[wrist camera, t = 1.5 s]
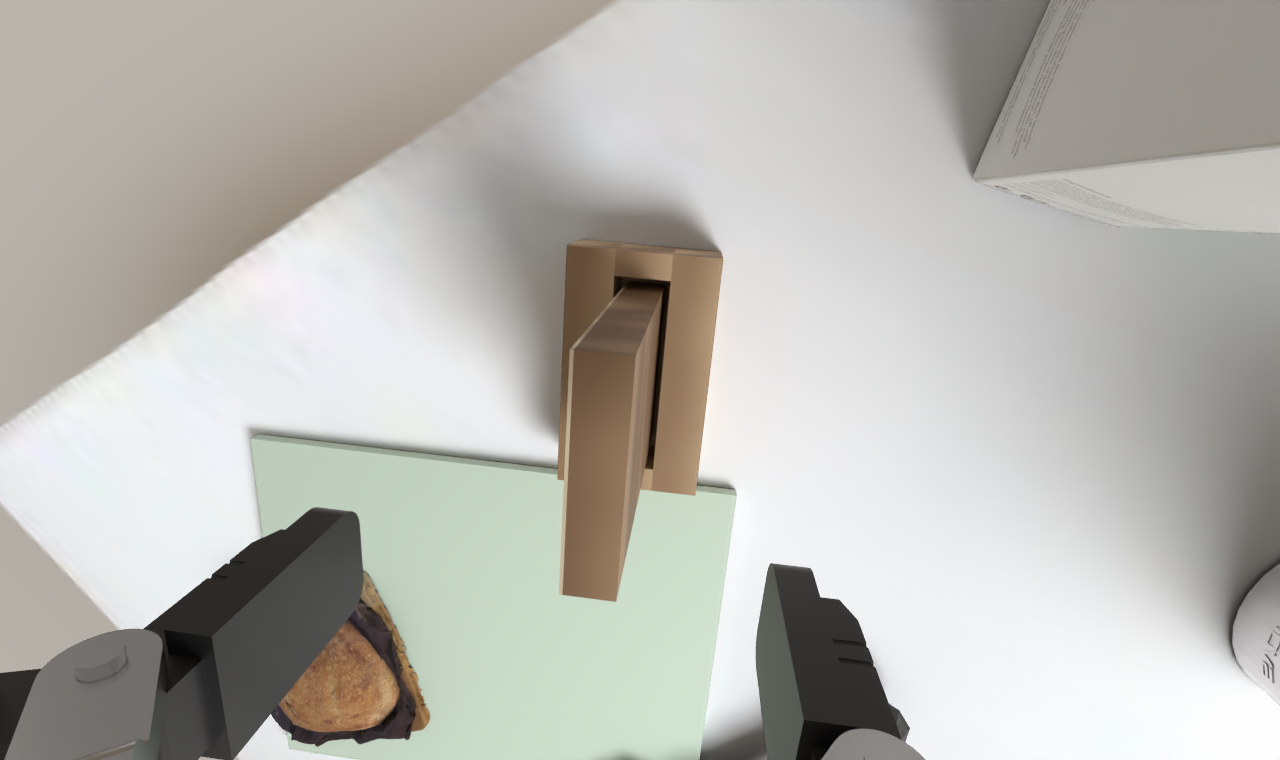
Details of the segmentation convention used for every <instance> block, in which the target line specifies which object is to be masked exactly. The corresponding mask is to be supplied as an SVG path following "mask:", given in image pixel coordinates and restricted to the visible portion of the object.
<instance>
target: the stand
mask: <svg viewBox="0 0 1280 760" xmlns="http://www.w3.org/2000/svg"><path fill="white" fill-rule="evenodd" d="M722 266H723V257H722V253H721V252H717V251H705V250H694V249H683V248H672V247H660V246H649V245H638V244H627V243H615V242H604V241H593V240H579V241H577V242H574V243H572V244H569V245H567V256H566V280H565V304H564V329H563V353H562V378H561V402H560V426H559V451H558V475H557V480H564V467H565V445H566V423H567V400H568V378H569V355H570V349H571V347H572V346H573V345H574V344H575V343H576V341H577V340H578V339H579V338H580V337H581V336H582V334H583V333H584V332H585V331H586V330H587V329H588V327H589V326H590V325H591V324H592V323H593V322H594V320H595V319H596V318H597V317H598V316H599V315H600V313H601V312H602V311H603V310H604V309H605V307H606V306H607V305H608V304H609V303H610V302H611V300H612V299H613V298H614V297H615V296H616V295H617V293H618V292H619V291H620V290H621V289H622V288H623V286H624V285H625V284H626V283H627V282H628V281H638V282H649V283H660V284H666V285H665V296H664V308H663V319H662V330H661V341H660V352H659V363H658V374H657V385H656V396H655V407H654V418H653V429H652V437H651V442H650V447H649V451H648V456H647V461H646V465H645V470H644V475H643V479H642V484H641V490H649V491H658V492H666V493H675V494H683V495H692V496H695V495H696V486H697V478H698V469H699V461H700V452H701V444H702V435H703V427H704V419H705V410H706V402H707V393H708V385H709V376H710V368H711V359H712V351H713V342H714V334H715V325H716V317H717V308H718V300H719V291H720V283H721V274H722Z"/></svg>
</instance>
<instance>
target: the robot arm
mask: <svg viewBox="0 0 1280 760" xmlns="http://www.w3.org/2000/svg"><path fill="white" fill-rule="evenodd" d="M363 581H364V578H363V563H362V549H361V534H360V522H359V518H358V516H357V514H356V513H355V512H352V511H345V510H337V509H328V508H320V507H314V508H311V509H310V510H308V511H307V512H306V513H305V514H304V515H302V516H301V517H300V518H299V519H298V520H296V521H295V522H294V523H293V524H292V525H290V526H289V527H288V528H287V529H285V530H283V529H280V530H278V531H276V532H274V533H272V534H270V535H268V536H266V537H263V538H261V539H259V540H257V541H255V542H253V543H251V544H250V545H249V546H247V547H246V548H245V549H244V550H242V551H241V552H240V553H239V554H237V555H236V556H235V557H234V558H232V559H231V560H230V563H229V564H225V565H223V566H222V567H221V568H220V569H218V570H217V571H216V572H215V573H213V574H212V577H211V579H209V578H207V579H206V580H205V581H203V582H202V583H201V584H200V585H198V586H197V587H196V588H194V589H193V590H192V591H191V592H189V593H188V594H187V595H186V596H184V597H183V598H182V599H181V600H179V601H178V602H177V603H176V604H174V605H173V606H172V607H171V608H169V609H168V610H167V611H165V612H164V613H163V614H162V615H160V616H159V617H158V618H157V619H155V620H154V621H153V622H152V623H150V624H149V625H148V626H147V627H145V628H144V629H125V630H118V631H113V632H108V633H104V634H101V635H98V636H95V637H92V638H89V639H87V640H84V641H82V642H80V643H78V644H76V645H74V646H72V647H70V648H68V649H66V650H65V651H63V652H62V653H60V654H58V655H57V656H56V657H54V658H53V659H52V660H50V661H49V662H48V663H47V664H46V665H45V666H44V667H43V668H42V669H35V670H25V671H16V672H7V673H0V760H198V759H199V758H200V757H201V756H202V757H209V758H216V759H222V760H233V759H234V758H235V757H236V756H237V754H238V753H239V752H240V751H241V750H242V748H243V747H244V746H245V745H246V743H247V742H248V741H249V740H250V739H251V737H252V736H253V735H254V734H255V732H256V731H257V730H258V729H259V727H260V726H261V725H262V724H263V723H264V721H265V720H266V719H267V718H268V716H269V715H270V714H271V713H272V712H273V710H274V709H275V708H276V707H277V705H278V704H279V703H280V702H281V700H282V699H283V698H284V697H285V696H286V694H287V693H288V692H289V691H290V689H291V688H292V687H293V686H294V685H295V683H296V682H297V681H298V680H299V678H300V677H301V676H302V675H303V673H304V672H305V671H306V670H307V669H308V667H309V666H310V665H311V664H312V662H313V661H314V660H315V659H316V658H317V656H318V655H319V654H320V653H321V651H322V650H323V649H324V648H325V646H326V645H327V644H328V643H329V642H330V640H331V639H332V638H333V637H334V635H335V634H336V633H337V632H338V630H339V629H340V628H341V627H342V626H343V624H344V623H345V622H346V621H347V619H348V618H349V617H350V616H351V615H352V613H353V612H354V610H355V609H356V607H357V605H358V602H359V600H360V597H361V594H362V590H363ZM1232 645H1233V649H1234V652H1235V656H1236V660H1237V662H1238V663H1239V665H1240V666H1241V668H1242V670H1243V671H1244V673H1245V674H1246V675H1247V676H1248V677H1249V678H1250V679H1251V680H1252V681H1253V682H1254V683H1256V684H1257V685H1258V686H1259V687H1260V688H1261V689H1262V690H1263V691H1264V692H1266V693H1267V694H1268V695H1269V696H1270V697H1271V698H1272V699H1273V700H1274V701H1276V702H1277V703H1278V704H1279V705H1280V563H1279V564H1278V565H1277V566H1276V567H1274V568H1273V569H1272V570H1270V571H1269V572H1268V573H1267V574H1265V575H1264V576H1263V577H1262V578H1261V579H1260V580H1259V581H1258V582H1257V584H1256V585H1255V586H1254V587H1253V588H1252V589H1251V590H1250V591H1249V592H1248V594H1247V596H1246V597H1245V599H1244V601H1243V602H1242V604H1241V606H1240V608H1239V609H1238V612H1237V615H1236V619H1235V622H1234V625H1233V638H1232ZM756 670H757V678H758V686H759V694H760V703H761V711H762V719H763V728H764V736H765V744H766V752H767V760H925V759H924V758H923V757H922V756H921V755H920V754H919V753H918V752H917V751H916V750H915V749H914V748H912V747H911V746H909V745H908V744H907V743H905V742H904V741H902V738H901V736H900V733H899V730H898V728H897V725H896V722H895V719H894V717H893V714H892V711H891V709H890V706H889V703H888V701H887V698H886V695H885V692H884V690H883V687H882V684H881V682H880V679H879V676H878V673H877V671H876V668H875V667H873V660H872V657H871V654H870V652H869V649H868V648H866V641H865V638H864V636H863V633H862V630H861V627H860V625H859V622H858V620H857V619H856V618H855V617H854V616H853V615H852V613H851V612H850V611H849V610H848V609H847V608H846V607H845V606H844V605H843V603H842V602H841V601H840V600H837V599H829V598H821V597H820V595H819V592H818V588H817V585H816V582H815V578H814V575H813V572H812V570H811V569H810V568H805V567H797V566H788V565H780V564H772V563H771V564H770V565H769V568H768V571H767V577H766V583H765V589H764V595H763V600H762V606H761V612H760V618H759V624H758V630H757V639H756Z"/></svg>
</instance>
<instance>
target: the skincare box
mask: <svg viewBox="0 0 1280 760" xmlns="http://www.w3.org/2000/svg"><path fill="white" fill-rule="evenodd" d="M974 179H975V181H976V182H978V183H981V184H984V185H987V186H990V187H993V188H996V189H999V190H1002V191H1005V192H1008V193H1011V194H1014V195H1017V196H1020V197H1023V198H1026V199H1029V200H1032V201H1035V202H1039V203H1042V204H1045V205H1048V206H1051V207H1055V208H1058V209H1061V210H1064V211H1067V212H1071V213H1074V214H1077V215H1080V216H1083V217H1087V218H1090V219H1093V220H1097V221H1100V222H1103V223H1106V224H1110V225H1113V226H1116V227H1124V228H1157V229H1184V230H1209V231H1232V232H1258V233H1280V0H1050V3H1049V5H1048V7H1047V9H1046V11H1045V14H1044V16H1043V18H1042V20H1041V23H1040V25H1039V27H1038V29H1037V32H1036V34H1035V36H1034V38H1033V41H1032V43H1031V45H1030V47H1029V50H1028V52H1027V54H1026V56H1025V59H1024V61H1023V63H1022V65H1021V68H1020V70H1019V72H1018V74H1017V77H1016V79H1015V81H1014V83H1013V86H1012V88H1011V90H1010V92H1009V95H1008V97H1007V99H1006V101H1005V104H1004V106H1003V108H1002V111H1001V113H1000V115H999V117H998V120H997V122H996V124H995V126H994V129H993V131H992V133H991V135H990V138H989V140H988V142H987V145H986V147H985V149H984V151H983V154H982V156H981V159H980V161H979V163H978V166H977V168H976V171H975V173H974Z"/></svg>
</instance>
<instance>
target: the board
mask: <svg viewBox="0 0 1280 760" xmlns="http://www.w3.org/2000/svg"><path fill="white" fill-rule="evenodd" d="M665 285H666V284H660V283H649V282H638V281H628V282H627V283H626V284H625V285H624V286H623V288H622V289H621V290H620V291H619V292H618V293H617V295H616V296H615V297H614V298H613V299H612V300H611V302H610V303H609V304H608V305H607V306H606V307H605V309H604V310H603V311H602V312H601V313H600V315H599V316H598V317H597V318H596V319H595V320H594V322H593V323H592V324H591V325H590V326H589V327H588V329H587V330H586V331H585V332H584V333H583V334H582V336H581V337H580V338H579V339H578V340H577V341H576V343H575V344H574V345H573V346H572V347H571V349H570V355H569V378H568V400H567V423H566V445H565V467H564V490H563V512H562V535H561V557H560V579H559V595H566V596H574V597H582V598H589V599H597V600H604V601H612V602H616V601H617V596H618V591H619V587H620V582H621V577H622V573H623V568H624V563H625V559H626V554H627V549H628V545H629V540H630V535H631V531H632V526H633V521H634V517H635V512H636V507H637V503H638V498H639V493H640V489H641V484H642V479H643V475H644V470H645V465H646V461H647V456H648V451H649V447H650V442H651V437H652V429H653V418H654V407H655V396H656V385H657V374H658V363H659V352H660V341H661V330H662V319H663V308H664V296H665Z"/></svg>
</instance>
